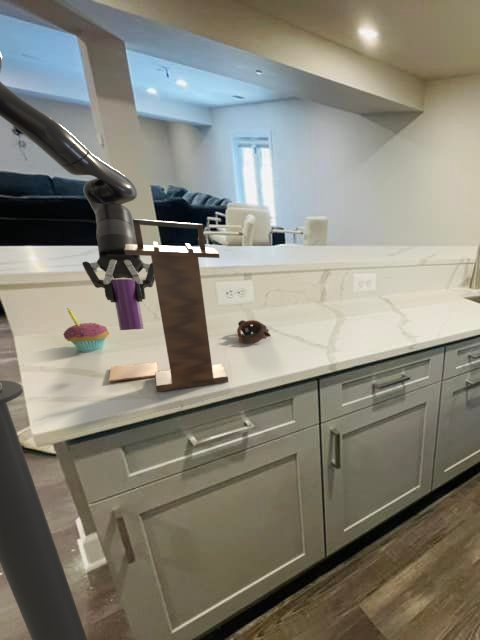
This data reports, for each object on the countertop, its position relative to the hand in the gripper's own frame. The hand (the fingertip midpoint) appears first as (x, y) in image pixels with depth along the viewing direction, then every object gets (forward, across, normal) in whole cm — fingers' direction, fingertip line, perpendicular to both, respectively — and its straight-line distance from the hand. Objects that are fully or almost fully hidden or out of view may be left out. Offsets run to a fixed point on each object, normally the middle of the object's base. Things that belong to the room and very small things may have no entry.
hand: (126, 300), depth 93 cm
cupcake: (0, +10, -25) cm, 27 cm away
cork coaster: (+15, +1, -10) cm, 18 cm away
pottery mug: (+4, -28, -21) cm, 35 cm away
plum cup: (-1, 0, -4) cm, 4 cm away
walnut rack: (+21, -10, -4) cm, 24 cm away
